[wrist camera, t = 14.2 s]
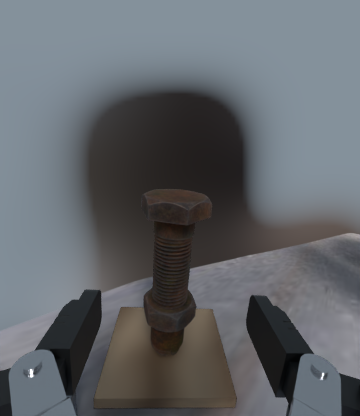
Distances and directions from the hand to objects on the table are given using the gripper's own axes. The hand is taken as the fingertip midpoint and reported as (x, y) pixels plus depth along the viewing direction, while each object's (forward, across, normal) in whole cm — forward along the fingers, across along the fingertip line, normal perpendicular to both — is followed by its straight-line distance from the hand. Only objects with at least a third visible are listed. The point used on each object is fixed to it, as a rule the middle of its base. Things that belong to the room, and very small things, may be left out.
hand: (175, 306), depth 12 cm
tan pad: (+8, 0, +12) cm, 14 cm away
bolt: (+8, 0, +11) cm, 13 cm away
